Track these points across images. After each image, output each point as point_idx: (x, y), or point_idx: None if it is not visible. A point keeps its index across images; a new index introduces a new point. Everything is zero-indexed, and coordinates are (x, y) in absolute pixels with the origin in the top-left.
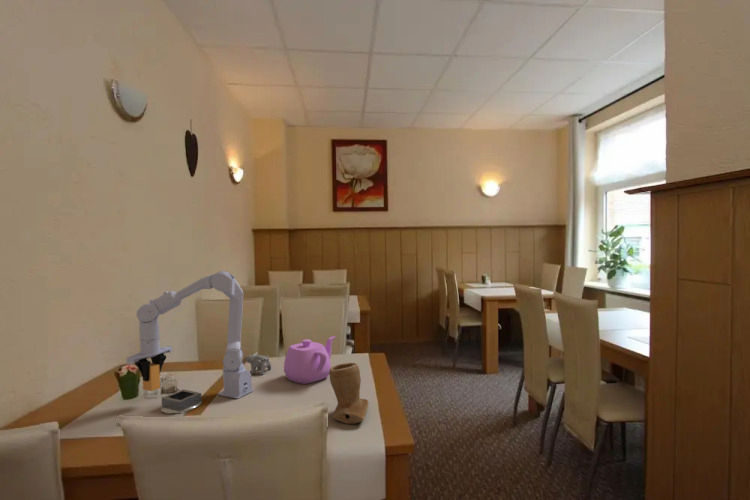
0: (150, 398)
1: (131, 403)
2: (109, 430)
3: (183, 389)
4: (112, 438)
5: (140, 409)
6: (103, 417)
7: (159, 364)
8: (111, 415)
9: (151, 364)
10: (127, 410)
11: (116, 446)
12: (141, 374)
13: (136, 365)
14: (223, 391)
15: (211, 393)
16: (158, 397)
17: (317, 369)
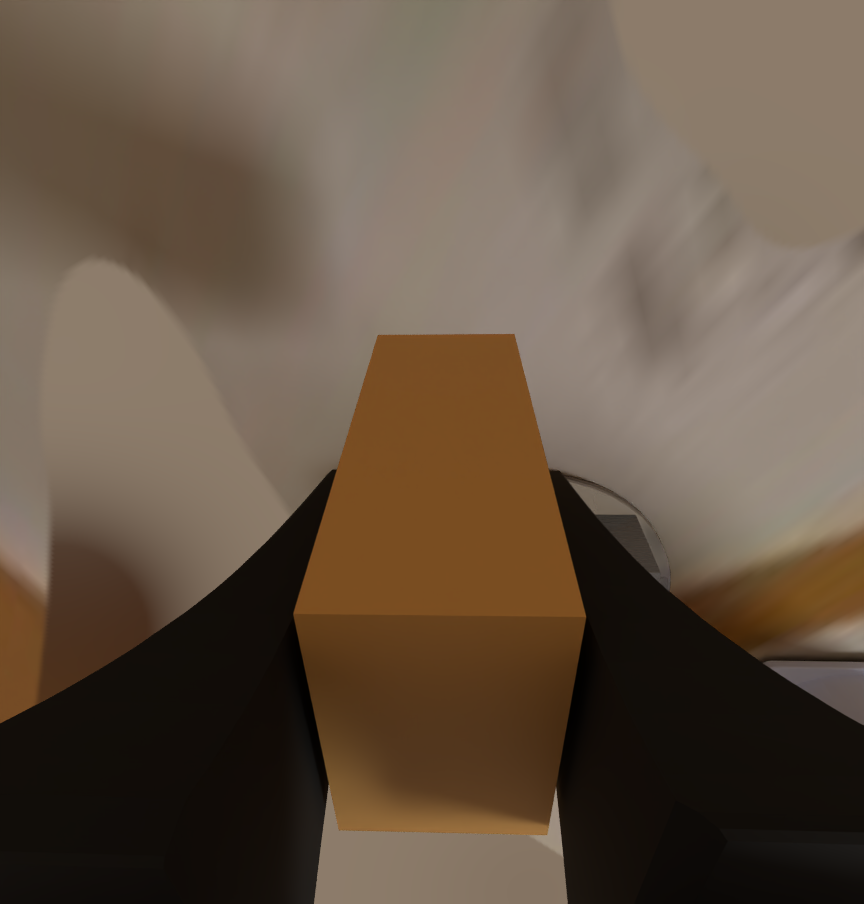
0: (558, 141)
1: (353, 50)
2: (16, 492)
3: (656, 578)
4: (17, 599)
5: (320, 349)
6: (2, 171)
7: (566, 819)
8: (78, 205)
9: (487, 721)
10: (233, 242)
11: (22, 679)
12: (277, 533)
13: (66, 698)
14: (813, 674)
15: (793, 598)
16: (611, 216)
17: None
